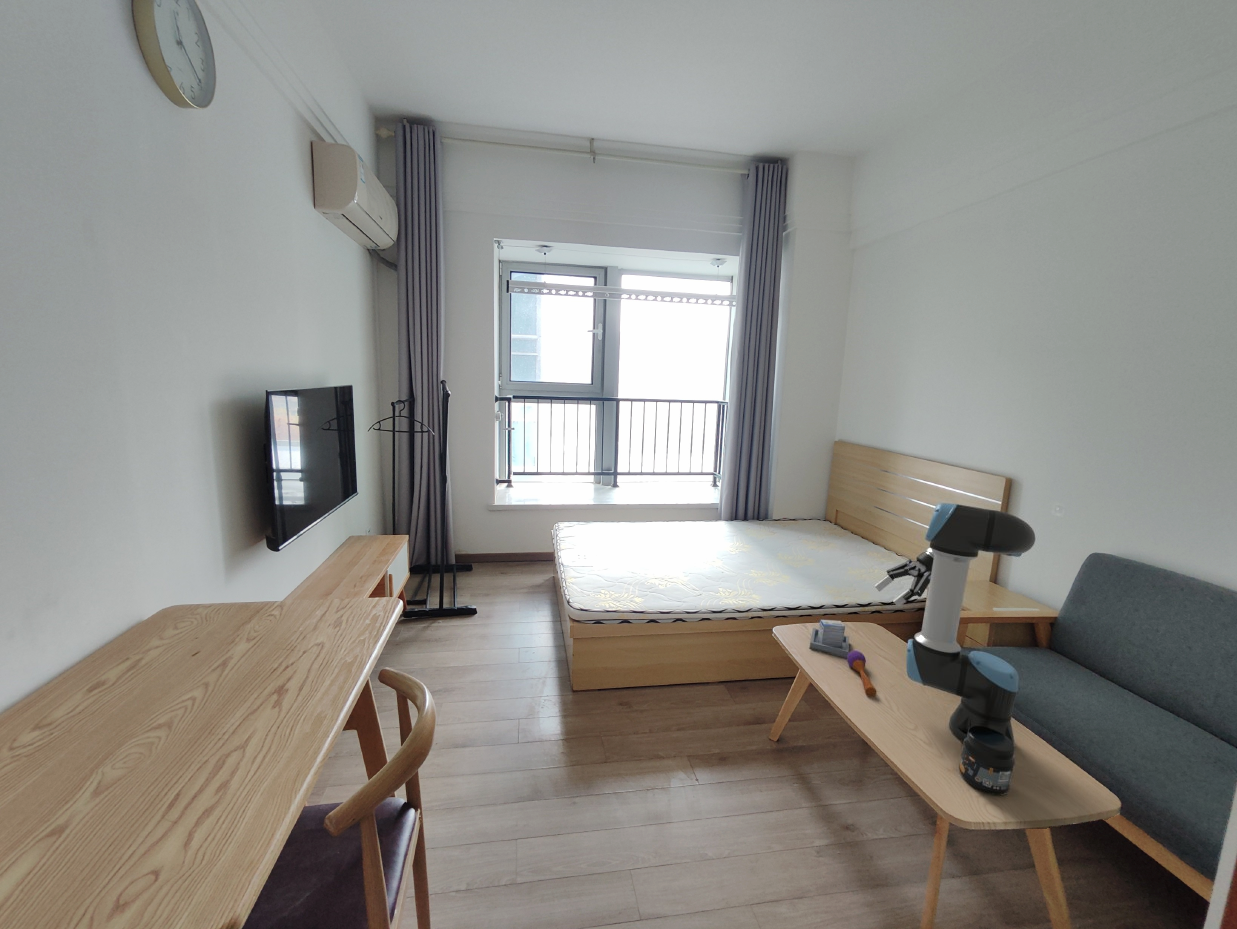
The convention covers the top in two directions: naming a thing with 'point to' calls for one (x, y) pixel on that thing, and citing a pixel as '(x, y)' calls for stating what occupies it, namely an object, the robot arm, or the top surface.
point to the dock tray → (837, 651)
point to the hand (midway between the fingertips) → (885, 596)
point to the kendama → (861, 670)
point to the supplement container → (987, 760)
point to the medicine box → (831, 633)
